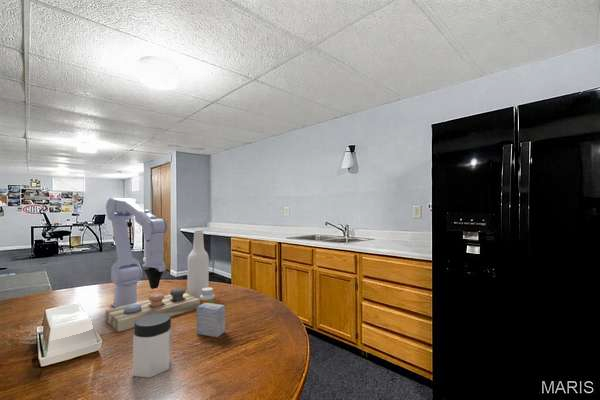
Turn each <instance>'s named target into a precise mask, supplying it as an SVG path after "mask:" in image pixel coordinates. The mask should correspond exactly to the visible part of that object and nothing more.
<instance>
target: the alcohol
mask: <svg viewBox="0 0 600 400" xmlns="http://www.w3.org/2000/svg"><path fill="white" fill-rule="evenodd" d="M204 241H205V240H204V229H200V228H198V229H197V228H196V229H194V230H193V243H192V250H191V251H190V253H189V254H188V256H187V276H186V277H187V278H186V279H187V285H186V288H187V290H186V293H187V294H189V295H191V296H194V297H196V298H199V299H200V296H201V295H202V289H203V288H207V287H209V286H210V285H209V272H210V271H209V270H210V268H209V266H210V265H209V262H210V259H209V253H208V252H207V251H206V249H205V244H204V243H205V242H204Z"/></svg>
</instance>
